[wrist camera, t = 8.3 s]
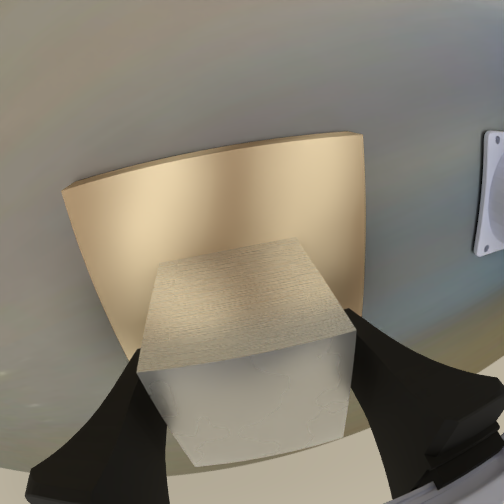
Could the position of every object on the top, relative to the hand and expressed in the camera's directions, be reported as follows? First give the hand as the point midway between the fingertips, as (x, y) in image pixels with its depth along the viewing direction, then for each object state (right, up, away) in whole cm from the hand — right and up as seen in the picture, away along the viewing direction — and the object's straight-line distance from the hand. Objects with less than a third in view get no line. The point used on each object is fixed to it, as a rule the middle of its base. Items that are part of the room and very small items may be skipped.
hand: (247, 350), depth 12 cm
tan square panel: (-1, +2, +4) cm, 4 cm away
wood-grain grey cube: (0, +1, +2) cm, 3 cm away
